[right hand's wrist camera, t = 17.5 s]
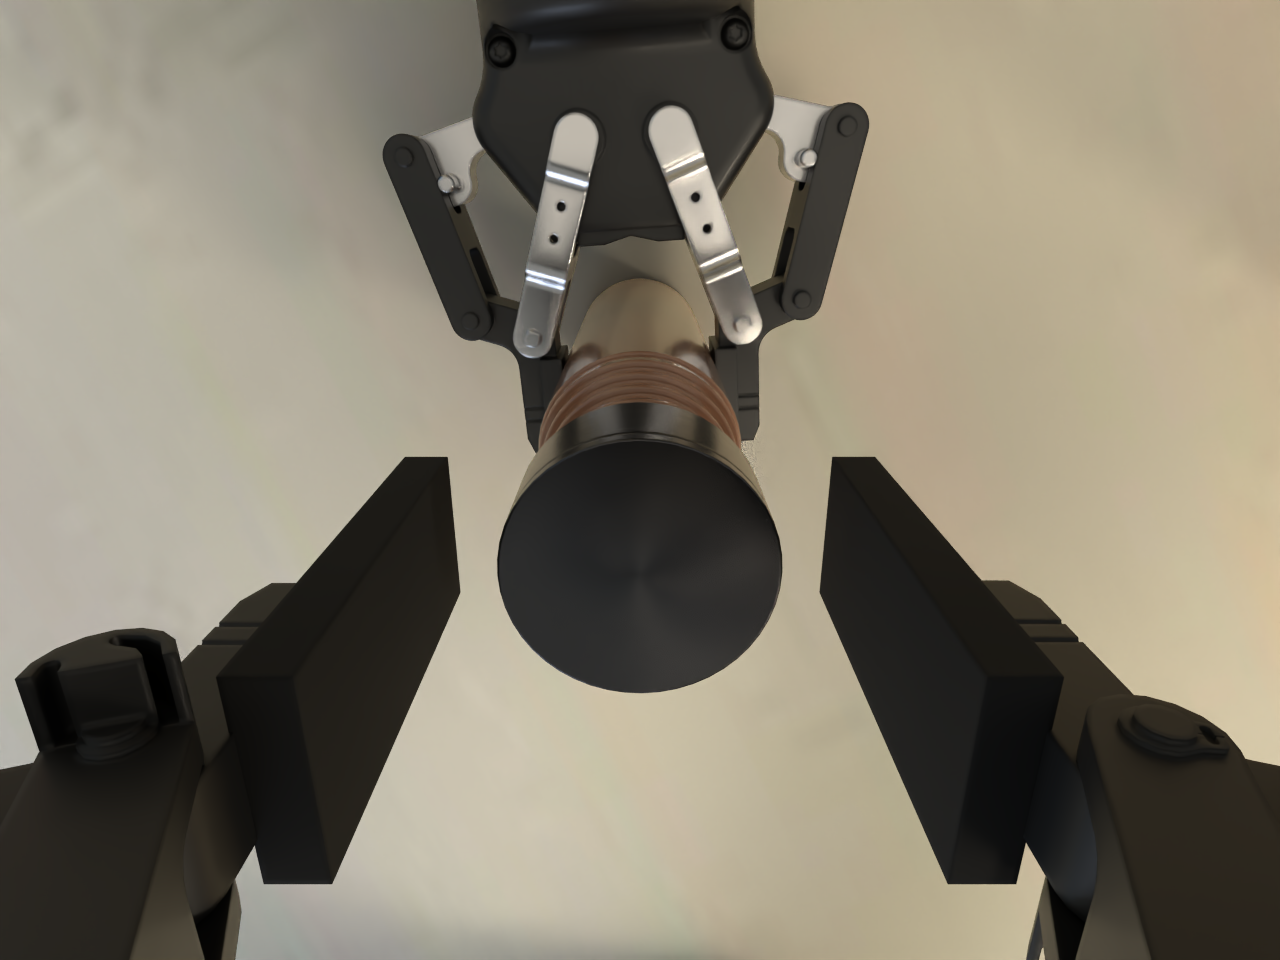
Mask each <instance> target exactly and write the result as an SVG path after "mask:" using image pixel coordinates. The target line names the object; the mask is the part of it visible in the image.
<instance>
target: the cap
mask: <svg viewBox="0 0 1280 960" xmlns="http://www.w3.org/2000/svg"><path fill="white" fill-rule="evenodd" d="M497 573H498V581H499V587H500V593H501V596H502V599H503V602H504V605H505V608H506V610H507V613H508V615H509V617H510V619H511V621H512V623H513V625H514V626H515V628H516V629H517V631H518V632H519V634H520V635H521V637H522V638H523V639H524V640H525V641H526V643H527V644H528V645H529V646H530V647H531V648H532V650H533V651H535V652H536V653H537V654H538V655H539V656H540V657H541V658H542V659H544V660H545V661H546V662H547V663H549V664H550V665H552V666H553V667H554V668H556V669H557V670H559V671H560V672H562V673H564V674H566V675H568V676H570V677H572V678H574V679H576V680H578V681H581V682H583V683H586V684H588V685H591V686H595V687H599V688H602V689H606V690H612V691H618V692H627V693H651V692H662V691H667V690H673V689H678V688H681V687H684V686H688V685H691V684H694V683H696V682H699V681H701V680H703V679H706V678H708V677H710V676H712V675H714V674H715V673H717V672H719V671H721V670H722V669H724V668H725V667H727V666H728V665H729V664H731V663H732V662H734V661H735V660H736V659H737V658H739V657H740V656H741V655H742V654H743V653H744V652H745V651H746V650H747V649H748V648H749V647H750V646H751V645H752V643H753V642H754V641H755V640H756V638H757V637H758V636H759V635H760V633H761V632H762V630H763V628H764V627H765V625H766V624H767V622H768V620H769V618H770V616H771V614H772V612H773V609H774V607H775V605H776V601H777V598H778V594H779V591H780V586H781V578H782V552H781V546H780V540H779V536H778V533H777V530H776V527H775V524H774V521H773V518H772V516H771V513H770V511H769V508H768V506H767V503H766V501H765V498H764V496H763V493H762V490H761V488H760V485H759V483H758V480H757V478H756V475H755V473H754V471H753V469H752V467H751V465H750V463H749V461H748V460H747V458H746V457H745V456H744V454H743V453H742V451H741V450H740V448H739V447H738V446H737V445H736V444H735V443H734V442H733V441H732V440H731V438H730V437H729V436H727V435H726V434H725V433H724V432H723V431H721V430H720V429H719V428H718V427H716V426H715V425H713V424H712V423H710V422H709V421H707V420H705V419H704V418H702V417H700V416H698V415H696V414H693V413H691V412H689V411H686V410H683V409H680V408H677V407H674V406H670V405H664V404H658V403H647V402H632V403H620V404H616V405H611V406H606V407H602V408H599V409H597V410H594V411H591V412H588V413H586V414H584V415H582V416H580V417H578V418H576V419H574V420H572V421H571V422H569V423H568V424H566V425H565V426H563V427H562V428H561V429H559V430H558V431H557V432H556V433H555V434H554V435H553V436H551V437H550V438H549V439H548V440H547V441H546V442H545V444H544V445H543V446H542V447H541V448H540V449H539V451H538V452H537V453H536V455H535V456H534V458H533V460H532V461H531V463H530V464H529V466H528V468H527V471H526V473H525V475H524V477H523V480H522V482H521V485H520V487H519V490H518V492H517V495H516V497H515V500H514V502H513V505H512V507H511V510H510V512H509V515H508V518H507V520H506V522H505V525H504V528H503V532H502V535H501V539H500V542H499V550H498V557H497Z"/></svg>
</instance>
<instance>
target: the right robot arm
mask: <svg viewBox="0 0 1280 960" xmlns="http://www.w3.org/2000/svg"><path fill="white" fill-rule="evenodd" d="M459 594H460V583H459V572H458V561H457V551H456V540H455V530H454V519H453V508H452V498H451V487H450V476H449V466H448V457H405V458H404V459H403V460H402V461H401V462H400V463H399V465H398V466H397V467H396V468H395V469H394V470H393V471H392V473H391V474H390V475H389V476H388V477H387V478H386V480H385V481H384V482H383V483H382V484H381V485H380V487H379V488H378V489H377V490H376V491H375V492H374V494H373V495H372V496H371V497H370V498H369V499H368V501H367V502H366V503H365V504H364V505H363V506H362V507H361V509H360V510H359V511H358V512H357V513H356V514H355V516H354V517H353V518H352V519H351V520H350V521H349V523H348V524H347V525H346V526H345V527H344V528H343V530H342V531H341V532H340V533H339V534H338V535H337V536H336V538H335V539H334V540H333V541H332V542H331V543H330V545H329V546H328V547H327V548H326V549H325V550H324V552H323V553H322V554H321V555H320V556H319V557H318V559H317V560H316V561H315V562H314V563H313V564H312V566H311V567H310V568H309V569H308V570H307V571H306V572H305V574H304V575H303V576H302V577H301V578H300V579H299V581H298V582H297V583H271V584H269V585H268V586H266V587H264V588H262V589H261V590H259V591H257V592H255V593H254V594H252V595H250V596H248V597H247V598H245V599H243V600H241V601H240V602H239V603H238V604H237V605H236V606H235V607H234V608H233V609H232V610H231V611H230V612H229V613H228V614H227V615H226V616H225V617H224V618H223V619H222V620H221V622H220V623H219V627H215V628H214V629H213V630H212V631H211V632H210V633H209V634H208V635H207V636H206V637H205V638H204V639H203V640H202V645H198V646H197V647H196V648H195V649H194V650H193V651H192V652H191V653H190V654H189V655H188V656H187V657H186V658H185V659H184V660H183V661H182V662H181V660H180V656H179V652H178V648H177V644H176V640H175V639H174V638H173V637H171V636H170V635H168V634H167V633H165V632H164V631H159V630H152V629H146V628H136V629H122V630H113V631H109V632H105V633H101V634H96V635H92V636H88V637H84V638H82V639H79V640H77V641H74V642H71V643H69V644H66V645H64V646H61V647H59V648H56V649H54V650H53V651H51V652H49V653H47V654H46V655H44V656H42V657H41V658H39V659H37V660H36V661H34V662H32V663H31V664H30V665H29V666H28V667H27V668H26V669H25V670H24V671H23V672H22V673H21V674H20V675H19V676H18V677H17V678H16V679H15V681H16V684H17V687H18V690H19V693H20V696H21V699H22V702H23V705H24V708H25V711H26V713H27V716H28V719H29V722H30V725H31V728H32V731H33V734H34V737H35V740H36V743H37V746H38V749H39V751H40V752H39V753H38V755H37V757H36V759H35V761H34V763H31V764H26V765H21V766H16V767H11V768H6V769H1V770H0V960H235V957H236V949H237V942H238V934H239V927H240V919H241V905H240V898H239V893H238V889H237V885H236V881H235V878H236V876H237V875H238V873H239V871H240V869H241V868H242V866H243V864H244V863H245V861H246V859H247V857H248V856H249V854H250V852H251V851H252V849H253V847H254V845H255V848H256V853H257V857H258V861H259V866H260V870H261V874H262V878H263V883H264V884H332V883H333V881H334V879H335V876H336V874H337V872H338V870H339V867H340V865H341V863H342V860H343V858H344V856H345V854H346V851H347V849H348V847H349V845H350V842H351V840H352V838H353V835H354V833H355V831H356V829H357V826H358V824H359V822H360V820H361V817H362V815H363V813H364V810H365V808H366V806H367V804H368V801H369V799H370V797H371V795H372V792H373V790H374V788H375V785H376V783H377V781H378V779H379V776H380V774H381V772H382V770H383V767H384V765H385V763H386V760H387V758H388V756H389V754H390V751H391V749H392V747H393V745H394V742H395V740H396V738H397V735H398V733H399V731H400V729H401V726H402V724H403V722H404V720H405V717H406V715H407V713H408V710H409V708H410V706H411V704H412V701H413V699H414V697H415V695H416V692H417V690H418V688H419V685H420V683H421V681H422V679H423V676H424V674H425V672H426V670H427V667H428V665H429V663H430V660H431V658H432V656H433V654H434V651H435V649H436V647H437V645H438V642H439V640H440V638H441V635H442V633H443V631H444V629H445V626H446V624H447V622H448V619H449V617H450V615H451V613H452V610H453V608H454V606H455V604H456V601H457V599H458V597H459ZM820 594H821V597H822V599H823V601H824V604H825V606H826V608H827V610H828V613H829V615H830V617H831V619H832V622H833V624H834V626H835V629H836V631H837V633H838V635H839V638H840V640H841V642H842V645H843V647H844V649H845V651H846V654H847V656H848V658H849V660H850V663H851V665H852V667H853V670H854V672H855V674H856V676H857V679H858V681H859V683H860V685H861V688H862V690H863V692H864V695H865V697H866V699H867V701H868V704H869V706H870V708H871V710H872V713H873V715H874V717H875V720H876V722H877V724H878V726H879V729H880V731H881V733H882V735H883V738H884V740H885V742H886V745H887V747H888V749H889V751H890V754H891V756H892V758H893V760H894V763H895V765H896V767H897V770H898V772H899V774H900V776H901V779H902V781H903V783H904V785H905V788H906V790H907V792H908V795H909V797H910V799H911V801H912V804H913V806H914V808H915V810H916V813H917V815H918V817H919V820H920V822H921V824H922V826H923V829H924V831H925V833H926V835H927V838H928V840H929V842H930V845H931V847H932V849H933V851H934V854H935V856H936V858H937V860H938V863H939V865H940V867H941V870H942V872H943V874H944V876H945V879H946V881H947V883H948V884H1016V883H1017V878H1018V874H1019V870H1020V866H1021V861H1022V857H1023V853H1024V848H1025V844H1026V843H1027V845H1028V846H1029V848H1030V850H1031V852H1032V853H1033V855H1034V857H1035V858H1036V860H1037V862H1038V864H1039V865H1040V867H1041V869H1042V870H1043V872H1044V874H1045V875H1046V877H1045V881H1044V885H1043V889H1042V893H1041V897H1040V901H1039V905H1038V909H1037V913H1036V917H1035V921H1034V925H1033V929H1032V933H1031V937H1030V941H1029V945H1028V951H1027V958H1026V960H1039V957H1040V953H1041V949H1042V948H1043V947H1044V954H1045V960H1280V766H1277V765H1272V764H1267V763H1262V762H1257V761H1252V760H1248V759H1245V758H1244V756H1243V754H1242V752H1241V750H1240V749H1239V748H1238V747H1237V745H1236V744H1235V743H1234V742H1233V741H1232V739H1231V738H1230V737H1229V736H1228V735H1227V733H1225V732H1224V731H1223V730H1221V729H1220V728H1218V727H1217V726H1215V725H1214V724H1212V723H1211V722H1210V721H1208V720H1207V719H1205V718H1204V717H1202V716H1200V715H1198V714H1196V713H1193V712H1191V711H1189V710H1187V709H1185V708H1182V707H1180V706H1178V705H1176V704H1173V703H1169V702H1165V701H1162V700H1158V699H1154V698H1151V697H1147V696H1138V695H1133V694H1132V693H1131V692H1130V691H1129V690H1128V688H1127V687H1126V686H1125V685H1124V684H1123V683H1122V682H1121V681H1120V680H1119V679H1118V678H1117V677H1116V676H1115V675H1114V674H1113V673H1112V672H1111V671H1110V670H1109V669H1108V668H1107V667H1106V666H1105V665H1104V664H1103V663H1102V662H1101V661H1100V660H1099V658H1098V657H1097V656H1096V655H1095V654H1094V653H1093V652H1092V651H1091V650H1090V649H1089V648H1088V647H1087V646H1086V645H1085V644H1084V643H1083V642H1079V641H1078V637H1077V636H1076V635H1075V634H1074V633H1073V632H1072V631H1071V630H1070V628H1069V627H1068V626H1067V625H1066V624H1061V619H1060V618H1059V617H1058V616H1057V615H1056V614H1055V613H1054V612H1053V611H1052V610H1051V609H1050V608H1049V607H1048V606H1047V605H1046V604H1045V603H1044V602H1043V601H1042V600H1041V599H1040V598H1039V597H1037V596H1035V595H1033V594H1032V593H1030V592H1028V591H1026V590H1024V589H1023V588H1021V587H1019V586H1017V585H1016V584H1014V583H1012V582H1010V581H981V579H980V578H979V577H978V576H977V575H976V574H975V572H974V571H973V570H972V569H971V568H970V567H969V566H968V564H967V563H966V562H965V561H964V560H963V559H962V557H961V556H960V555H959V554H958V553H957V552H956V550H955V549H954V548H953V547H952V546H951V545H950V543H949V542H948V541H947V540H946V539H945V538H944V536H943V535H942V534H941V533H940V532H939V531H938V530H937V528H936V527H935V526H934V525H933V524H932V523H931V521H930V520H929V519H928V518H927V517H926V516H925V514H924V513H923V512H922V511H921V510H920V509H919V507H918V506H917V505H916V504H915V503H914V502H913V501H912V499H911V498H910V497H909V496H908V495H907V494H906V492H905V491H904V490H903V489H902V488H901V487H900V485H899V484H898V483H897V482H896V481H895V480H894V478H893V477H892V476H891V475H890V474H889V473H888V471H887V470H886V469H885V468H884V467H883V466H882V465H881V463H880V462H879V461H878V460H877V459H876V458H875V457H832V466H831V476H830V487H829V498H828V508H827V519H826V530H825V540H824V551H823V561H822V572H821V583H820Z"/></svg>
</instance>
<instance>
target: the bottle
mask: <svg viewBox="0 0 1280 960" xmlns="http://www.w3.org/2000/svg"><path fill="white" fill-rule="evenodd" d="M632 402H647V403H658V404H664V405H670V406H674V407H677V408H680V409H683V410H686V411H689V412H691V413H693V414H696V415H698V416H700V417H702V418H704V419H705V420H707V421H709V422H710V423H712V424H713V425H715V426H716V427H718V428H719V429H720V430H721V431H723V432H724V433H725V434H726V435H727V436H729V437H730V438H731V440H732V441H733V442H734V443H735V444H736V445H737V446H738V447H739V448H740V450H741V436H740V430H739V425H738V421H737V418H736V415H735V412H734V410H733V407H732V405H731V403H730V400H729V398H728V395H727V393H726V391H725V388H724V386H723V383H722V381H721V378H720V376H719V374H718V371H717V369H716V366H715V364H714V361H713V359H712V357H711V354H710V352H709V349H708V347H707V344H706V342H705V340H704V337H703V335H702V332H701V330H700V328H699V325H698V323H697V320H696V318H695V315H694V313H693V311H692V309H691V307H690V306H689V304H688V303H687V301H686V300H685V299H684V298H683V297H682V296H681V295H680V294H679V293H678V292H677V291H676V290H674V289H673V288H671V287H670V286H668V285H666V284H664V283H661V282H658V281H655V280H651V279H641V278H638V279H629V280H625V281H622V282H619V283H616V284H614V285H612V286H610V287H609V288H607V289H606V290H604V291H603V292H602V293H601V294H600V295H599V296H598V297H597V298H596V299H595V300H594V301H593V303H592V304H591V306H590V307H589V309H588V311H587V313H586V315H585V318H584V320H583V323H582V325H581V327H580V330H579V332H578V335H577V337H576V340H575V342H574V344H573V347H572V349H571V352H570V354H569V356H568V359H567V361H566V364H565V366H564V368H563V371H562V373H561V376H560V378H559V381H558V383H557V385H556V388H555V390H554V393H553V395H552V397H551V400H550V402H549V405H548V407H547V409H546V412H545V414H544V417H543V421H542V424H541V428H540V435H539V449H540V448H541V447H542V446H543V445H544V444H545V442H546V441H547V440H548V439H549V438H550V437H551V436H553V435H554V434H555V433H556V432H557V431H558V430H559V429H561V428H562V427H563V426H565V425H566V424H568V423H569V422H571V421H572V420H574V419H576V418H578V417H580V416H582V415H584V414H586V413H588V412H591V411H594V410H597V409H599V408H602V407H606V406H611V405H616V404H620V403H632Z"/></svg>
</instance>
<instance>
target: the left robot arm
mask: <svg viewBox="0 0 1280 960" xmlns="http://www.w3.org/2000/svg"><path fill="white" fill-rule="evenodd" d="M477 8H478V16H479V24H480V32H481V41H482V49H483V75H482V81H481V85H480V89H479V92H478V94H477V97H476V99H475V102H474V106H473V113H472V117H470V118H468V119H465V120H462V121H460V122H457V123H454V124H452V125H449V126H446V127H444V128H441V129H438V130H436V131H433V132H430V133H428V134H425V135H422V136H413V135H408V134H397V135H394V136H392V137H391V138H389V139H388V141H387V142H386V143H385V145H384V148H383V161H384V164H385V167H386V169H387V171H388V174H389V176H390V179H391V181H392V183H393V186H394V188H395V191H396V193H397V195H398V198H399V200H400V203H401V205H402V207H403V210H404V212H405V215H406V217H407V219H408V222H409V224H410V227H411V229H412V231H413V234H414V236H415V239H416V241H417V243H418V246H419V248H420V251H421V253H422V255H423V258H424V260H425V263H426V265H427V267H428V270H429V272H430V275H431V277H432V279H433V282H434V284H435V287H436V289H437V291H438V294H439V296H440V299H441V301H442V303H443V306H444V308H445V311H446V313H447V315H448V318H449V320H450V323H451V325H452V327H453V329H454V331H455V332H456V334H457V335H459V336H460V337H461V338H463V339H465V340H469V341H476V340H483V341H486V342H490V343H493V344H497V345H500V346H503V347H505V348H507V349H508V350H509V351H511V352H512V353H513V355H514V356H515V357H516V359H517V361H518V364H519V369H520V378H521V386H522V394H523V402H524V408H525V418H526V427H527V435H528V440H529V442H530V443H531V445H532V447H533V449H534V451H535V452H536V453H537V452H538V451H539V435H540V428H541V424H542V421H543V417H544V414H545V412H546V409H547V407H548V405H549V402H550V400H551V397H552V395H553V393H554V390H555V388H556V385H557V383H558V381H559V378H560V376H561V373H562V371H563V368H564V366H565V364H566V361H567V359H568V356H569V355H568V345H561V343H560V333H559V331H560V327H561V323H562V319H563V315H564V311H565V306H566V302H567V298H568V294H569V290H570V285H571V281H572V278H573V275H574V271H575V268H576V264H577V260H578V255H579V251H580V247H582V246H597V245H606V244H608V243H611V242H614V241H617V240H620V239H623V238H625V237H628V236H636V237H640V238H645V239H650V240H655V241H669V240H684V239H685V241H686V244H687V246H688V249H689V252H690V254H691V257H692V259H693V262H694V264H695V267H696V269H697V271H698V274H699V276H700V279H701V281H702V284H703V287H704V289H705V292H706V294H707V297H708V300H709V302H710V305H711V307H712V310H713V313H714V315H715V336H709V352H710V354H711V357H712V359H713V361H714V364H715V366H716V369H717V371H718V374H719V376H720V378H721V381H722V383H723V386H724V388H725V391H726V393H727V395H728V398H729V400H730V403H731V405H732V407H733V410H734V412H735V415H736V418H737V421H738V425H739V430H740V436H741V441H746V440H754V437H755V435H756V432H757V429H758V427H759V356H758V352H759V346H760V343H761V341H762V339H763V337H764V336H765V335H766V334H767V333H768V332H769V331H770V330H772V329H774V328H776V327H778V326H780V325H783V324H785V323H787V322H790V321H792V320H794V319H796V320H805V319H808V318H811V317H812V316H814V315H815V314H816V313H817V312H818V310H819V308H820V307H821V304H822V300H823V296H824V293H825V289H826V285H827V282H828V278H829V274H830V271H831V267H832V263H833V259H834V256H835V252H836V248H837V245H838V241H839V237H840V233H841V230H842V226H843V222H844V219H845V215H846V211H847V208H848V204H849V200H850V196H851V193H852V189H853V185H854V182H855V178H856V174H857V171H858V167H859V163H860V159H861V156H862V152H863V148H864V145H865V141H866V137H867V134H868V129H869V119H868V115H867V113H866V112H865V110H864V109H863V108H862V107H861V106H860V105H858V104H856V103H850V102H848V103H843V104H838V105H835V106H824V105H820V104H815V103H810V102H806V101H801V100H796V99H792V98H787V97H782V96H778V95H774V93H773V88H772V85H771V82H770V80H769V78H768V76H767V75H766V73H765V71H764V69H763V67H762V65H761V62H760V60H759V57H758V53H757V49H756V44H755V32H754V0H477ZM764 132H765V133H768V134H769V135H771V136H772V137H773V138H774V139H775V141H776V143H777V145H778V149H779V157H778V165H779V169H780V171H781V173H782V174H783V176H784V177H786V178H787V179H789V180H791V181H795V184H794V188H793V192H792V196H791V200H790V205H789V209H788V213H787V217H786V221H785V225H784V229H783V233H782V237H781V241H780V245H779V250H778V254H777V258H776V262H775V266H774V270H773V274H772V278H771V279H768V280H766V281H764V282H762V283H759V284H757V285H755V286H752V287H750V285H749V282H748V279H747V277H746V274H745V271H744V268H743V265H742V262H741V257H740V254H739V251H738V248H737V245H736V242H735V240H734V237H733V234H732V231H731V229H730V226H729V223H728V220H727V218H726V215H725V212H724V209H723V207H722V204H721V201H722V199H723V198H724V196H725V195H726V193H727V191H728V190H729V188H730V187H731V185H732V183H733V182H734V180H735V179H736V177H737V175H738V174H739V172H740V171H741V169H742V167H743V166H744V164H745V163H746V161H747V159H748V158H749V156H750V155H751V153H752V151H753V150H754V148H755V147H756V145H757V143H758V142H759V140H760V139H761V137H762V135H763V134H764ZM485 153H487V154H488V155H489V156H490V157H491V159H492V160H493V161H494V162H495V163H496V165H497V166H498V167H499V168H500V169H501V171H502V172H503V173H504V174H505V175H506V177H507V178H508V179H509V180H510V181H511V183H512V184H513V185H514V186H515V187H516V189H517V190H518V191H519V192H520V193H521V195H522V196H523V197H524V198H525V199H526V201H527V202H528V203H529V204H530V205H531V207H532V208H533V209H534V210H535V211H536V213H537V217H536V222H535V226H534V231H533V236H532V240H531V245H530V249H529V254H528V259H527V263H526V269H525V281H524V286H523V291H522V295H521V300H520V302H517V301H514V300H510V299H507V298H503V297H500V294H499V292H498V289H497V287H496V284H495V281H494V279H493V276H492V274H491V271H490V269H489V266H488V263H487V261H486V258H485V256H484V253H483V251H482V248H481V245H480V243H479V240H478V238H477V235H476V233H475V230H474V227H473V225H472V222H471V220H470V217H469V215H468V212H467V209H466V207H465V204H467V203H469V202H471V201H472V200H473V199H474V198H475V196H476V194H477V191H478V181H477V176H476V167H477V163H478V161H479V159H480V158H481V157H482V156H483V155H484V154H485Z"/></svg>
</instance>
